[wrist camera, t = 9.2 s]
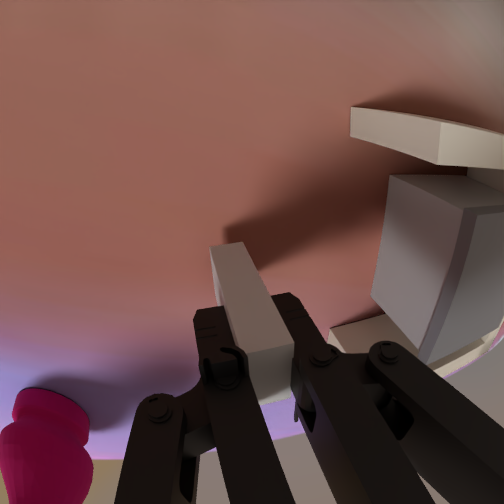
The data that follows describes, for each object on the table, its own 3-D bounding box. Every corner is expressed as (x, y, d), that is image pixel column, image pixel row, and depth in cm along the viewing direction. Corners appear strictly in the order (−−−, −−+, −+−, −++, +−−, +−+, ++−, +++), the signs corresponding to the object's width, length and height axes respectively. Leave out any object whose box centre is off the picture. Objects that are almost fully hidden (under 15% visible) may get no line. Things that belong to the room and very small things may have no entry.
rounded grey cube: (386, 170, 16) (477, 215, 10) (465, 172, 17) (541, 208, 11) (366, 298, 20) (425, 365, 14) (441, 278, 21) (498, 327, 15)
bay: (350, 106, 13) (440, 122, 8) (483, 128, 16) (552, 151, 11) (327, 344, 20) (367, 411, 15) (443, 308, 23) (487, 351, 18)
